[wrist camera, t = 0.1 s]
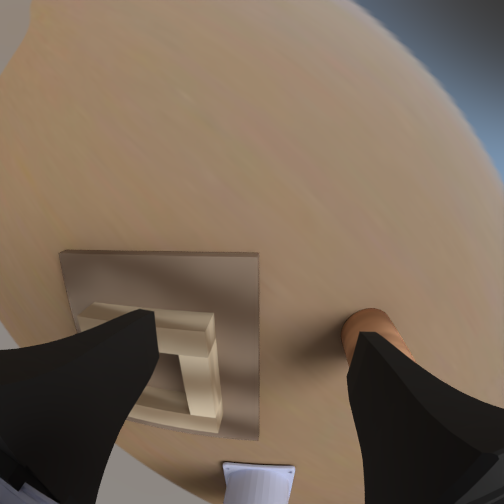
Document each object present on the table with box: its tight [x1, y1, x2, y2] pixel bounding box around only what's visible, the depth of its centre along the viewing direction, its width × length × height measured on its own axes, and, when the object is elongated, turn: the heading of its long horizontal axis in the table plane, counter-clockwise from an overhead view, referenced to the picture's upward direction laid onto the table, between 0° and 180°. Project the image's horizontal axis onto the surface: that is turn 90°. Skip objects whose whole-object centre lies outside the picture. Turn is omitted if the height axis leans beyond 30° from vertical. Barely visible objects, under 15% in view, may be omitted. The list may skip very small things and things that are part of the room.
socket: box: [59, 250, 259, 441], centre depth 21 cm, size 18×16×4 cm
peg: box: [341, 308, 416, 367], centre depth 17 cm, size 4×4×7 cm
